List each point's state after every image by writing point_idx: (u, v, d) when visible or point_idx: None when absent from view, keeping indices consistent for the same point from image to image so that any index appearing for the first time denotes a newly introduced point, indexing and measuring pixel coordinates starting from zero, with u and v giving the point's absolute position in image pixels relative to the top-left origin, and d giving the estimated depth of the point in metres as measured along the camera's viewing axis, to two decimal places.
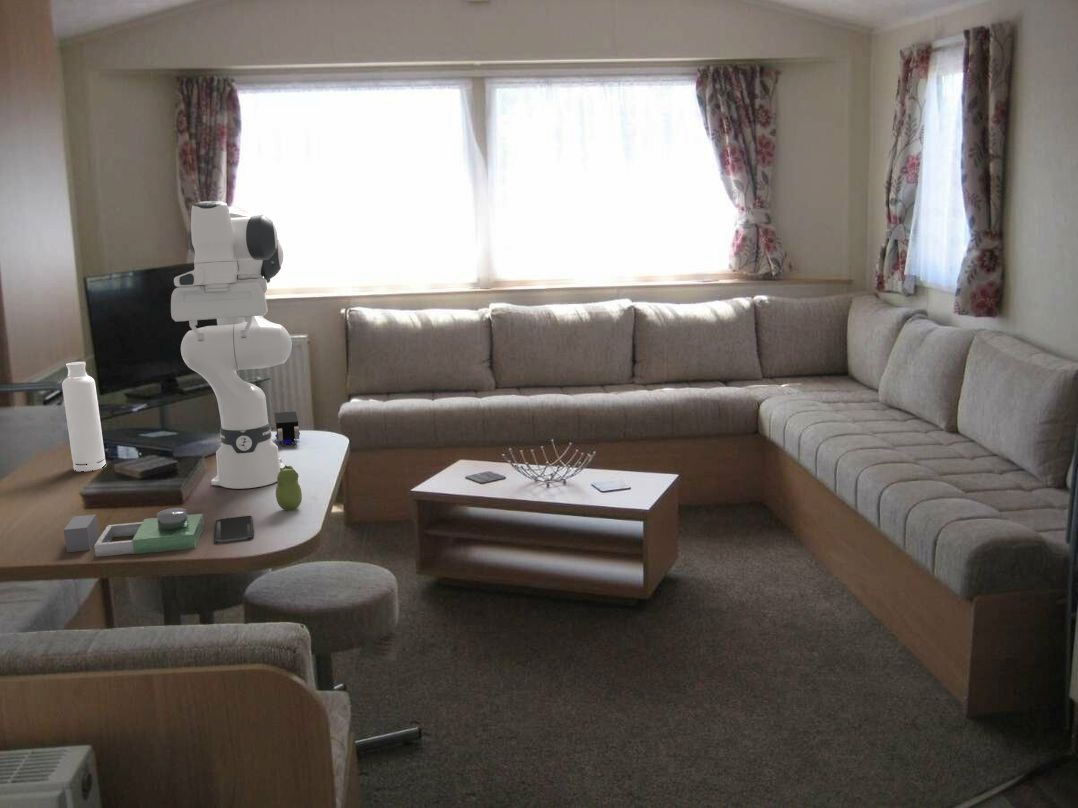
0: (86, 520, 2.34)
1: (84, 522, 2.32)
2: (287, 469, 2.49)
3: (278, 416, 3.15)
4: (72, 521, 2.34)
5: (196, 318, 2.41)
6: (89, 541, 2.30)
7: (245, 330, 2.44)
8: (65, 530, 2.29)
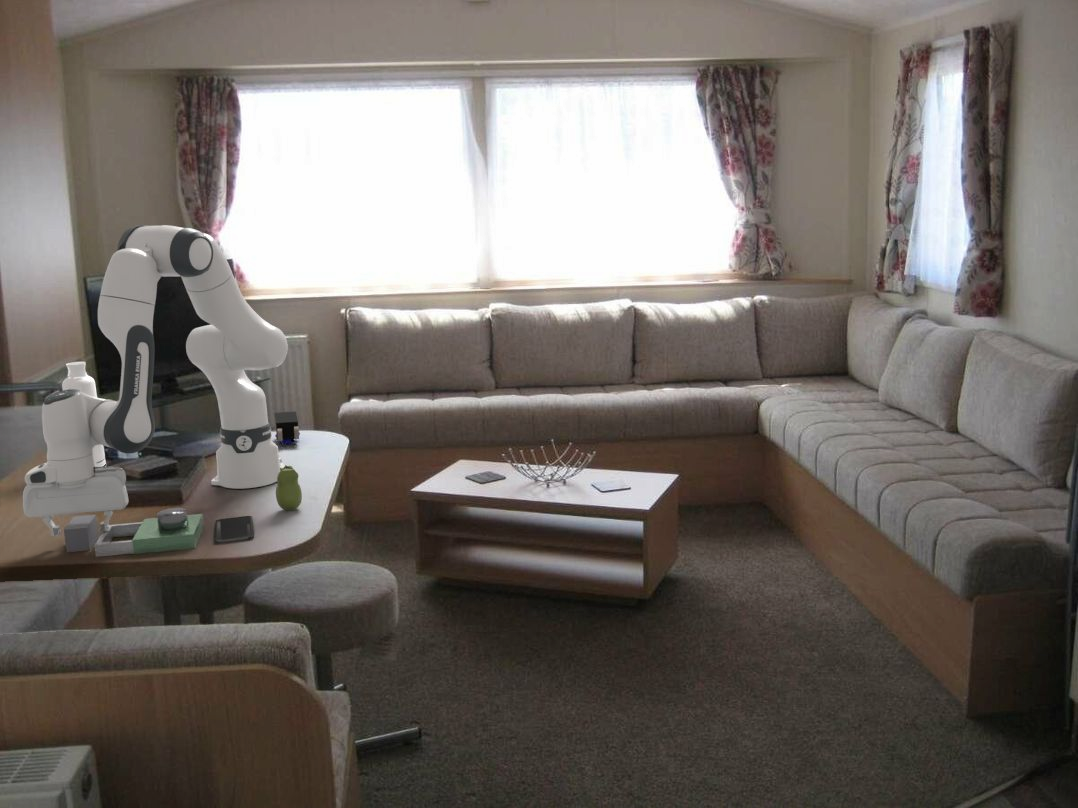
0: (86, 520, 2.34)
1: (84, 523, 2.32)
2: (287, 469, 2.49)
3: (278, 416, 3.15)
4: (72, 521, 2.34)
5: (50, 514, 2.30)
6: (89, 541, 2.30)
7: (105, 524, 2.33)
8: (65, 530, 2.28)
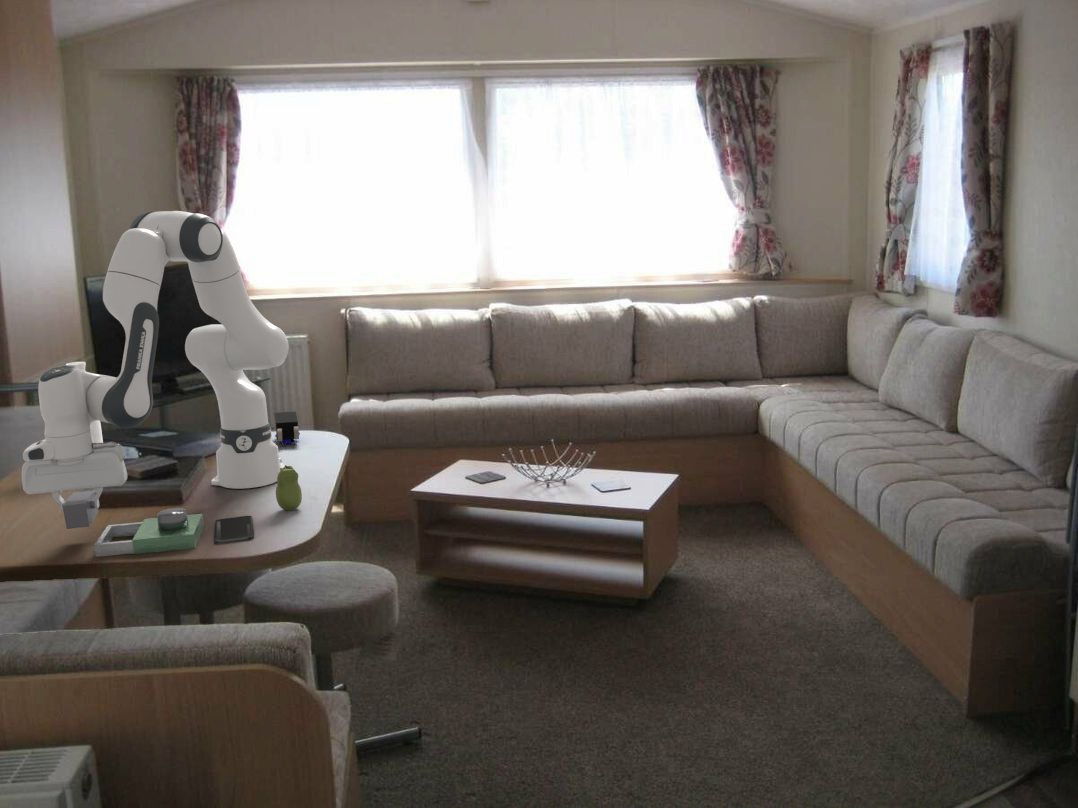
0: (85, 496, 2.34)
1: (83, 498, 2.32)
2: (287, 469, 2.49)
3: (278, 416, 3.15)
4: (71, 497, 2.34)
5: (50, 491, 2.30)
6: (88, 517, 2.31)
7: (94, 501, 2.33)
8: (64, 506, 2.29)
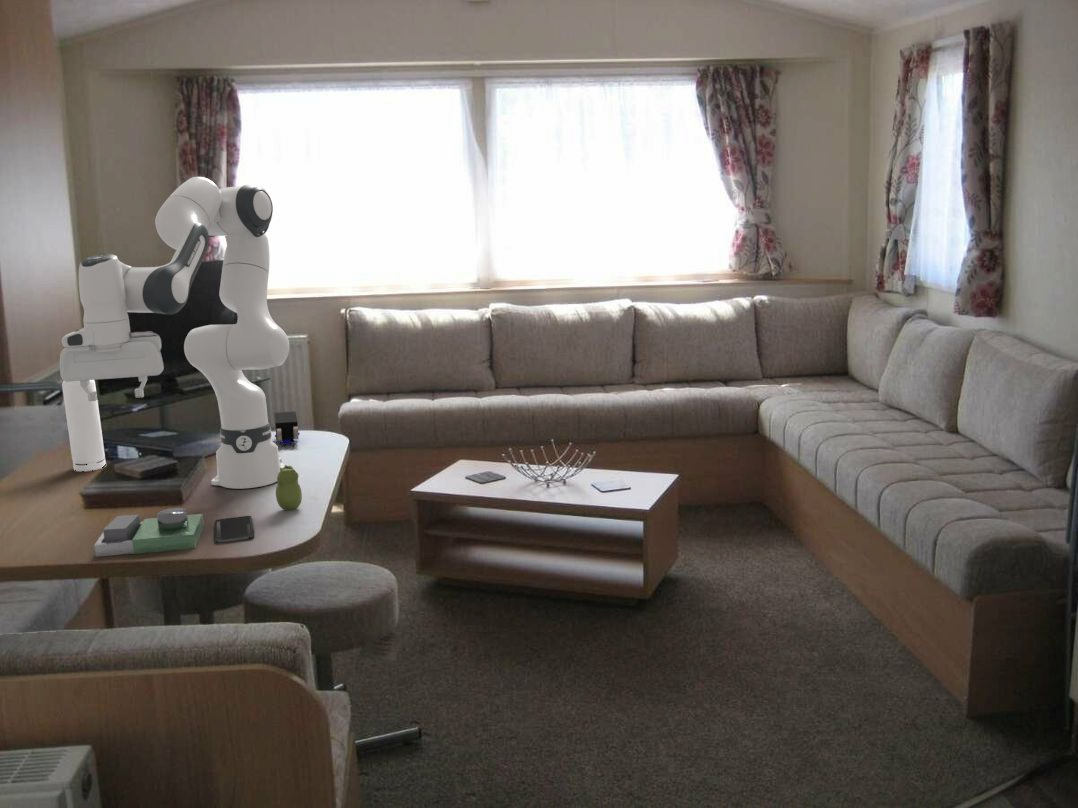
0: (128, 520, 2.33)
1: (124, 523, 2.31)
2: (287, 469, 2.49)
3: (278, 416, 3.15)
4: (114, 521, 2.33)
5: (87, 378, 2.32)
6: None
7: (139, 390, 2.34)
8: (104, 530, 2.27)
